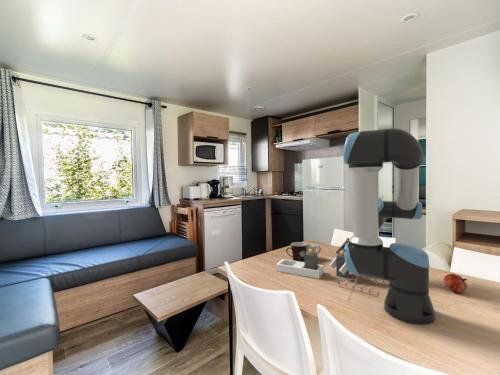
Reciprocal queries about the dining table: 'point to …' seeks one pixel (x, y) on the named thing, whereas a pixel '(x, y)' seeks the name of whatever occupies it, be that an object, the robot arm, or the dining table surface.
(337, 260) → the plug
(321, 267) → the strip
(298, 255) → the coffee mug
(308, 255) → the twin plug
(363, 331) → the dining table surface
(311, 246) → the teacup
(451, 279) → the red fruit with stem
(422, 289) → the robot arm
